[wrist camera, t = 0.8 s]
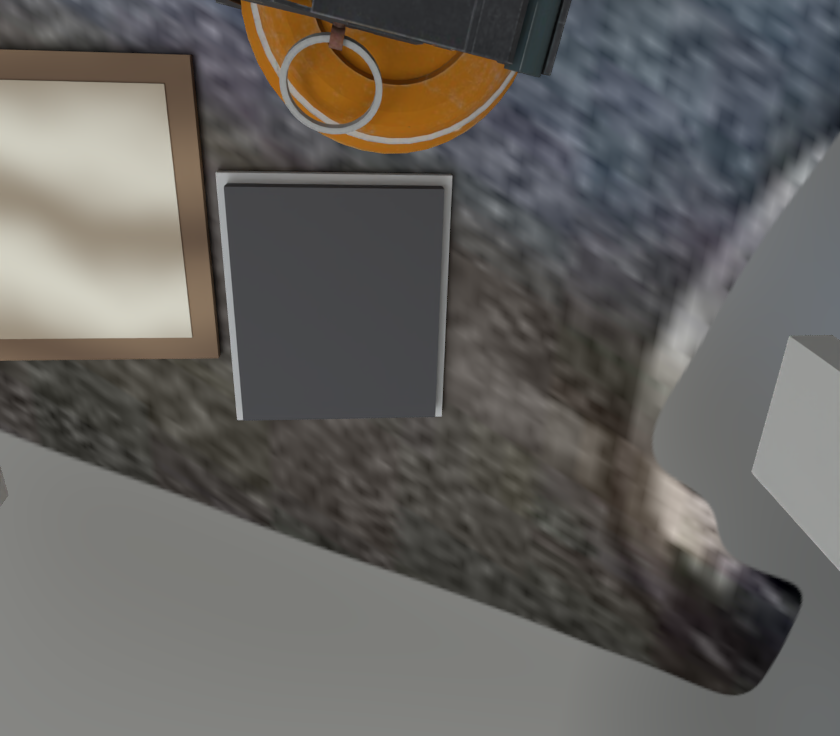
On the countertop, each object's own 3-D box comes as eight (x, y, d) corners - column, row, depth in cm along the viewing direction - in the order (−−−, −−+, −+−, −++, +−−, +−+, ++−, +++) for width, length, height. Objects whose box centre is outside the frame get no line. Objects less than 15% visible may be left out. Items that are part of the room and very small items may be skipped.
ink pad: (217, 170, 35) (211, 175, 33) (450, 173, 36) (455, 179, 34) (238, 415, 40) (234, 428, 39) (440, 411, 41) (443, 424, 40)
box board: (-108, 46, 31) (-117, 46, 31) (192, 54, 33) (189, 54, 32) (-30, 356, 37) (-37, 361, 37) (220, 353, 39) (218, 358, 38)
